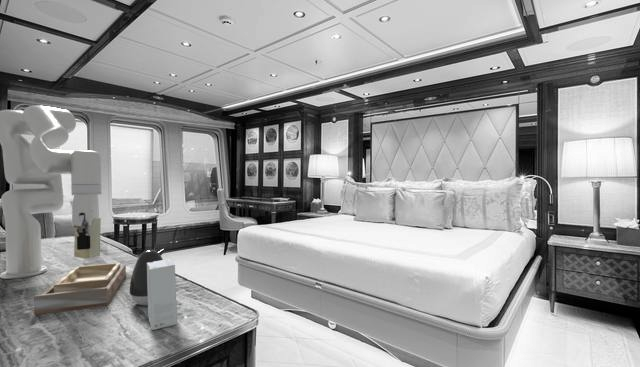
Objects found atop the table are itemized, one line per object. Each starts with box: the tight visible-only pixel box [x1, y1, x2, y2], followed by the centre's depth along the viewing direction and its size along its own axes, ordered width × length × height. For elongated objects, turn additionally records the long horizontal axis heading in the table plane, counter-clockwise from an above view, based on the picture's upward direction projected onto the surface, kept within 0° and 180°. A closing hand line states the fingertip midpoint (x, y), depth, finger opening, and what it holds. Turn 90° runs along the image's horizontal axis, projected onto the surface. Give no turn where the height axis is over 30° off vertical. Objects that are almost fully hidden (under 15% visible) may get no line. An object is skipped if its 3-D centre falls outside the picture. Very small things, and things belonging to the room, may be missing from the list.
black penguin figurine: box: [129, 248, 166, 307], centre depth 91 cm, size 10×10×15 cm
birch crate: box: [53, 262, 121, 293], centre depth 102 cm, size 20×13×4 cm, turn 23°
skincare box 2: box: [147, 258, 178, 331], centre depth 78 cm, size 8×6×15 cm
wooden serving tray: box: [33, 264, 127, 316], centre depth 98 cm, size 29×16×5 cm, turn 23°
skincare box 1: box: [73, 217, 102, 260], centre depth 98 cm, size 6×4×12 cm
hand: (87, 246), depth 98 cm, fingers closed on skincare box 1, 7 cm apart
